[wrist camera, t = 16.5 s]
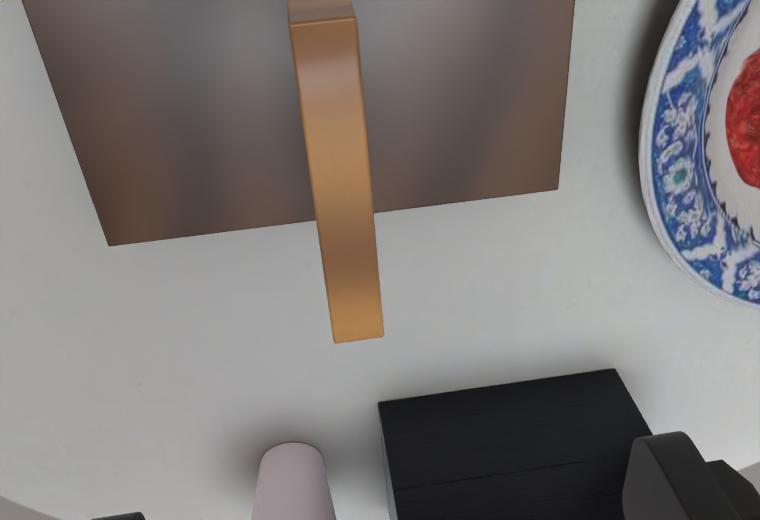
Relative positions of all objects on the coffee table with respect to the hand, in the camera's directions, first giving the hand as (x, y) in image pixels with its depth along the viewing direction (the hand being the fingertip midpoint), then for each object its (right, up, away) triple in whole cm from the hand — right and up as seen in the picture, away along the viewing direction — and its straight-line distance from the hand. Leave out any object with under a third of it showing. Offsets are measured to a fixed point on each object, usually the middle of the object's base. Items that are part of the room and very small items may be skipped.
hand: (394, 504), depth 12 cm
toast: (-3, +11, +16) cm, 20 cm away
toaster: (+7, -7, +32) cm, 34 cm away
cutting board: (-3, +12, +17) cm, 21 cm away
